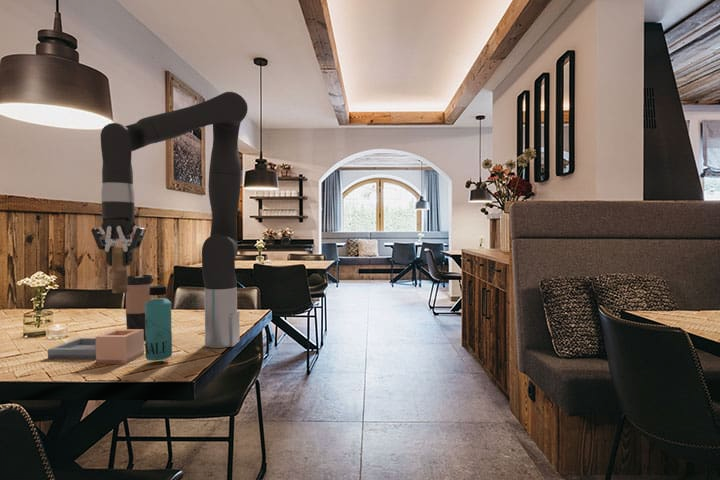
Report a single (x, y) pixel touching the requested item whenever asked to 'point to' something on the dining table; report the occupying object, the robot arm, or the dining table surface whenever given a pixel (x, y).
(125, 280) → the walnut dowel
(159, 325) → the beverage bottle
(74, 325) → the dining table surface
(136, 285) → the travel mug
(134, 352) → the pin cup
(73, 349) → the slate tray
